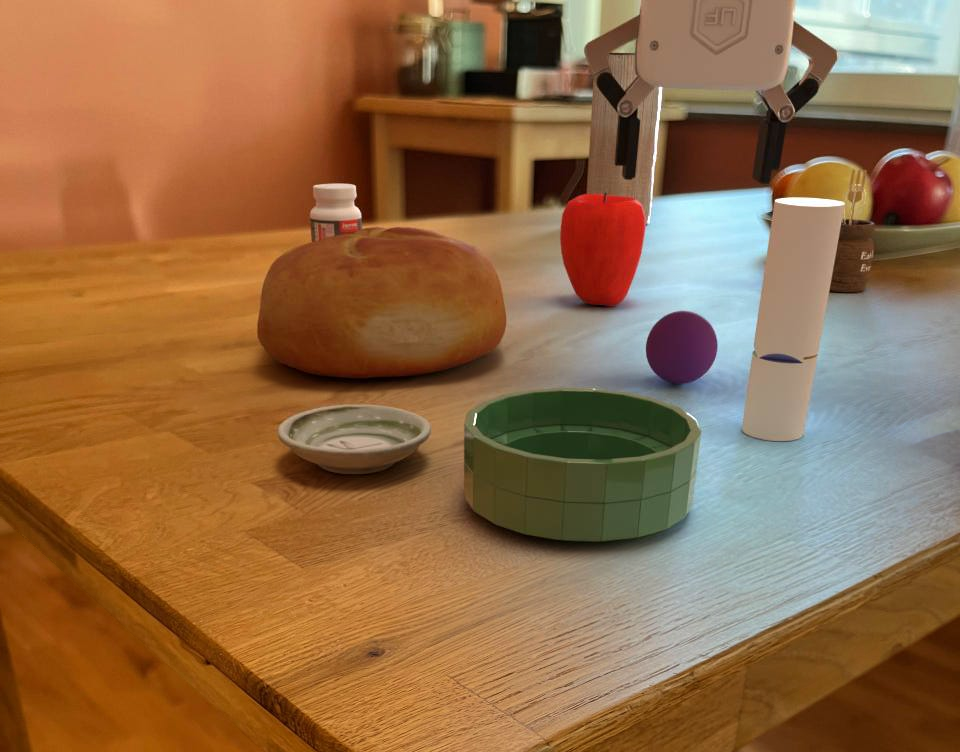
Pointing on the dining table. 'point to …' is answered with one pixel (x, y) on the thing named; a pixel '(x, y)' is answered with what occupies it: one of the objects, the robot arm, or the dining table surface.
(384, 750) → the dining table surface
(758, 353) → the tube
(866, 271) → the utensil holder
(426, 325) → the bread
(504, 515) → the bowl
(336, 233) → the pill bottle
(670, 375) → the ball
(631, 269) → the apple
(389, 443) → the saucer
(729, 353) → the dining table surface
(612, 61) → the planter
